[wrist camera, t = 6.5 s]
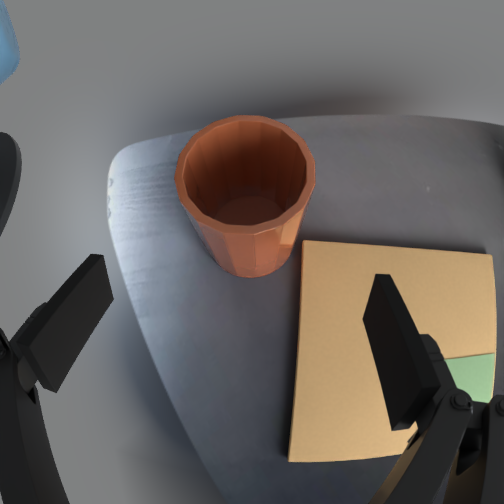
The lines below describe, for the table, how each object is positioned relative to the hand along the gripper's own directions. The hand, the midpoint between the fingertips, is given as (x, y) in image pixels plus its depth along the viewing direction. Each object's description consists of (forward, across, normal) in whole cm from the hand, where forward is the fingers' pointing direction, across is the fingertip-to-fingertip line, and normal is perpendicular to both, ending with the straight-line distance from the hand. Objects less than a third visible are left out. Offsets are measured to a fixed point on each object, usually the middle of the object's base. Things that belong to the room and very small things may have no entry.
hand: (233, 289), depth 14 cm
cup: (+13, 0, -3) cm, 13 cm away
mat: (+6, +15, -10) cm, 19 cm away
